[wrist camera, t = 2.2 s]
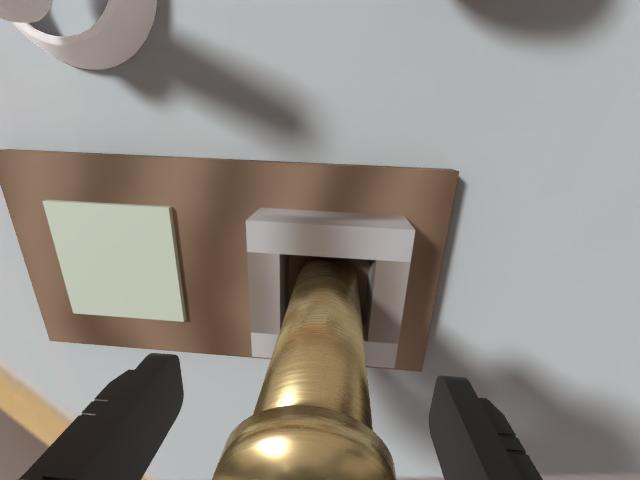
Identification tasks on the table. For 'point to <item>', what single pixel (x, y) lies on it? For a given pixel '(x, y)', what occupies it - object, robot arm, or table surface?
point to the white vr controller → (88, 32)
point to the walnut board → (247, 245)
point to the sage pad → (118, 259)
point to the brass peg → (313, 391)
